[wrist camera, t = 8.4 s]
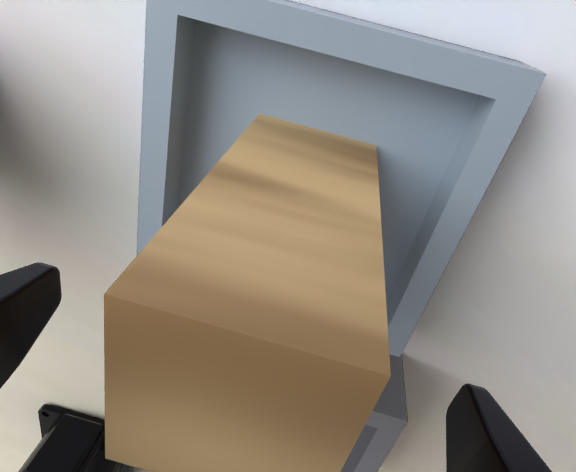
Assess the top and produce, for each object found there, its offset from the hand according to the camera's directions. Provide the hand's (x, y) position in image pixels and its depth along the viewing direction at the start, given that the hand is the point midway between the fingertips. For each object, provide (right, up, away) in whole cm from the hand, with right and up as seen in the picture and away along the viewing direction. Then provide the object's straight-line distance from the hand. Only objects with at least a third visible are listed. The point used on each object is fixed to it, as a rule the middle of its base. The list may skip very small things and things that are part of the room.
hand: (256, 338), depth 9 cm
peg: (+1, +4, +8) cm, 9 cm away
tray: (+1, +5, +8) cm, 10 cm away
